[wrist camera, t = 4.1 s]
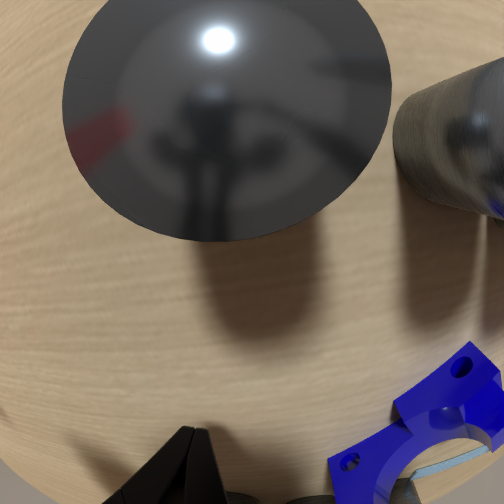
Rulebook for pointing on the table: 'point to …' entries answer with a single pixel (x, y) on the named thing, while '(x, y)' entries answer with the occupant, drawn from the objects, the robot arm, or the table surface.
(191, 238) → the spacers
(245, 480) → the table surface
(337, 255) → the table surface
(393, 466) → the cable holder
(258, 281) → the table surface
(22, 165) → the table surface
